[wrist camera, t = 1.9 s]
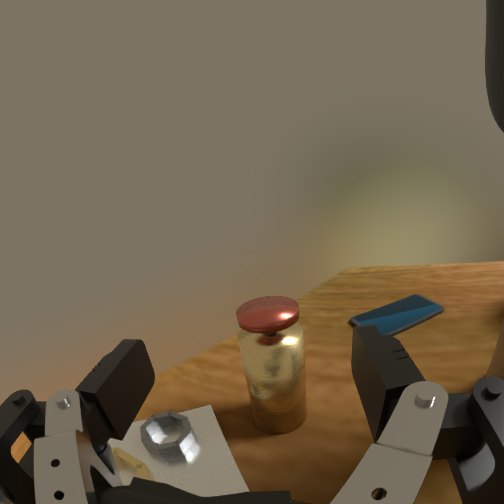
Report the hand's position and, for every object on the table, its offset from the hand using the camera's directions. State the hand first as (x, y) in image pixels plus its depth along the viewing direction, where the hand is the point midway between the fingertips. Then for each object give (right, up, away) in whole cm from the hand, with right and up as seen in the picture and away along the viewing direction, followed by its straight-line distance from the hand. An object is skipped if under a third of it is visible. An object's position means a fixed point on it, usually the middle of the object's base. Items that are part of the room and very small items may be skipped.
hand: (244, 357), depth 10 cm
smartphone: (+23, -6, +29) cm, 37 cm away
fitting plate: (-9, -16, +7) cm, 20 cm away
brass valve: (+3, -12, +15) cm, 19 cm away
